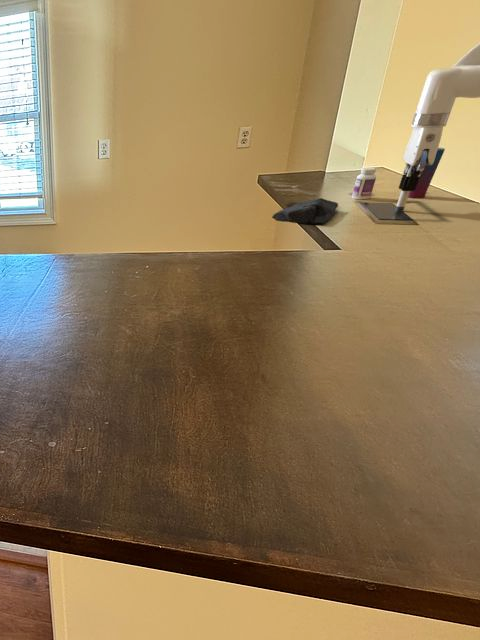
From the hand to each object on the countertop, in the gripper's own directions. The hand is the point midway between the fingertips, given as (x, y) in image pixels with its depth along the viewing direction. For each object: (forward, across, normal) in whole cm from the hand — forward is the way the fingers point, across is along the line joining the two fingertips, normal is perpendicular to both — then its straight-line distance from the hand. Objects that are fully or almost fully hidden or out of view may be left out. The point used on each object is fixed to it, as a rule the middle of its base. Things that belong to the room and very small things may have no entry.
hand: (406, 189), depth 141 cm
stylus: (+6, 0, 0) cm, 6 cm away
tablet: (+7, +1, 0) cm, 7 cm away
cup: (+8, +27, -11) cm, 30 cm away
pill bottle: (+8, +24, +5) cm, 26 cm away
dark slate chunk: (+8, -3, +24) cm, 26 cm away
